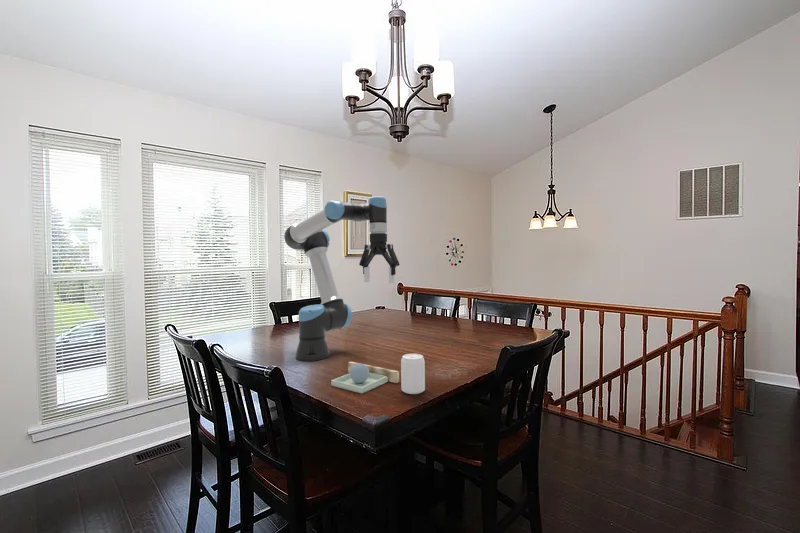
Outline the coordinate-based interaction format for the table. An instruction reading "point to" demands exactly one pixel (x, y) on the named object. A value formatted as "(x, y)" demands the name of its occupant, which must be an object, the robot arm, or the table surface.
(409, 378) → the beverage can
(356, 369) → the ball
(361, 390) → the tray
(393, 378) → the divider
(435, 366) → the table surface
